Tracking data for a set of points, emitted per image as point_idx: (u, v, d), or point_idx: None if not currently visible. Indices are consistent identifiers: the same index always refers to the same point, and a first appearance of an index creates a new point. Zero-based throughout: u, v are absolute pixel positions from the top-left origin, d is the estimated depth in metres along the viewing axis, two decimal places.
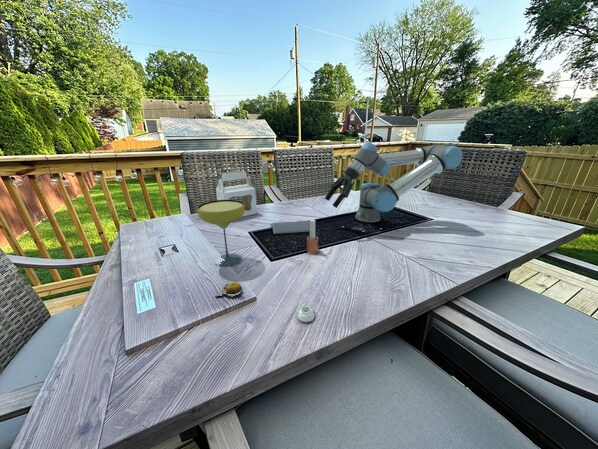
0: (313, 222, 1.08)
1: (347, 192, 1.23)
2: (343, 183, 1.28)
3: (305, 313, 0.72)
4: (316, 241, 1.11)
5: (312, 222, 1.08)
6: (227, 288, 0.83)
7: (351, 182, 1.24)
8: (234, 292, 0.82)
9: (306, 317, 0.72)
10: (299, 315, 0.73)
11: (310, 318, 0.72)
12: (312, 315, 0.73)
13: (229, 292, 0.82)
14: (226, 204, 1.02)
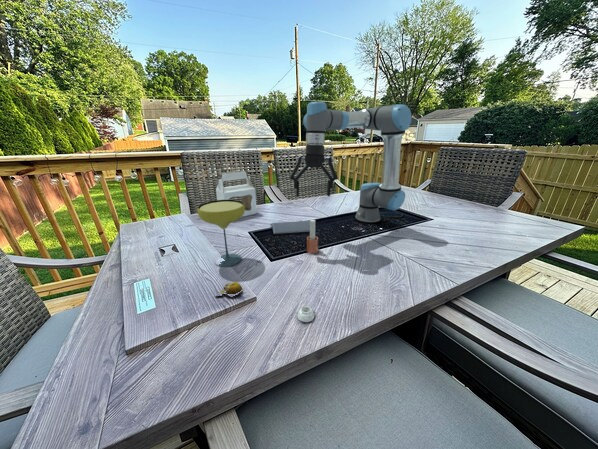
0: (313, 222, 1.08)
1: None
2: (321, 167, 1.01)
3: (305, 313, 0.72)
4: (316, 241, 1.11)
5: (312, 222, 1.08)
6: (227, 288, 0.83)
7: None
8: (234, 292, 0.82)
9: (306, 317, 0.72)
10: (299, 315, 0.73)
11: (310, 318, 0.72)
12: (312, 315, 0.73)
13: (229, 292, 0.82)
14: (226, 204, 1.02)
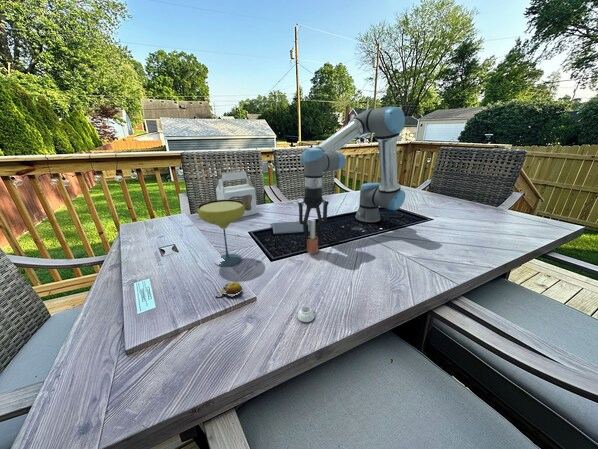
0: (313, 222, 1.08)
1: None
2: (317, 209, 1.06)
3: (305, 313, 0.72)
4: (316, 241, 1.11)
5: (312, 222, 1.08)
6: (227, 288, 0.83)
7: None
8: (234, 292, 0.82)
9: (306, 317, 0.72)
10: (299, 315, 0.73)
11: (310, 318, 0.72)
12: (312, 315, 0.73)
13: (229, 292, 0.82)
14: (226, 204, 1.02)
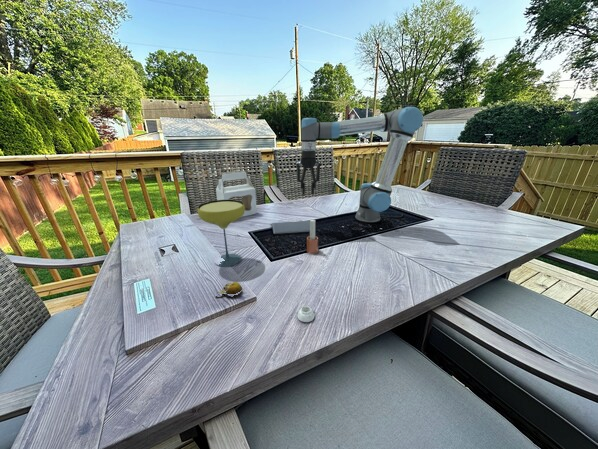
0: (313, 222, 1.08)
1: None
2: (311, 168, 1.30)
3: (305, 313, 0.72)
4: (316, 241, 1.11)
5: (312, 222, 1.08)
6: (227, 288, 0.83)
7: None
8: (234, 292, 0.82)
9: (306, 317, 0.72)
10: (299, 315, 0.73)
11: (310, 318, 0.72)
12: (312, 315, 0.73)
13: (229, 292, 0.82)
14: (226, 204, 1.02)
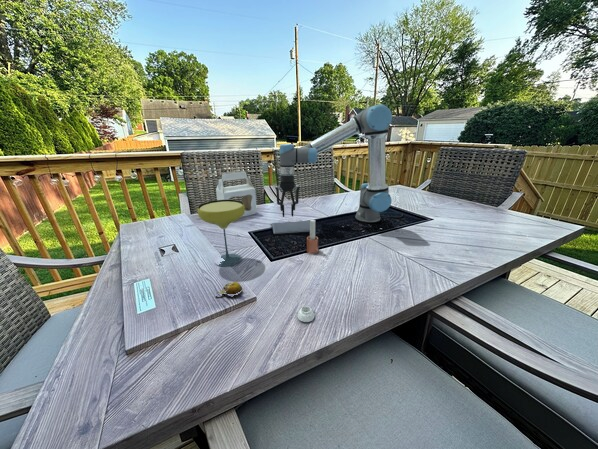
0: (313, 222, 1.08)
1: None
2: (290, 192, 1.33)
3: (305, 313, 0.72)
4: (316, 241, 1.11)
5: (312, 222, 1.08)
6: (227, 288, 0.83)
7: None
8: (234, 292, 0.82)
9: (306, 317, 0.72)
10: (299, 315, 0.73)
11: (310, 318, 0.72)
12: (312, 315, 0.73)
13: (229, 292, 0.82)
14: (226, 204, 1.02)
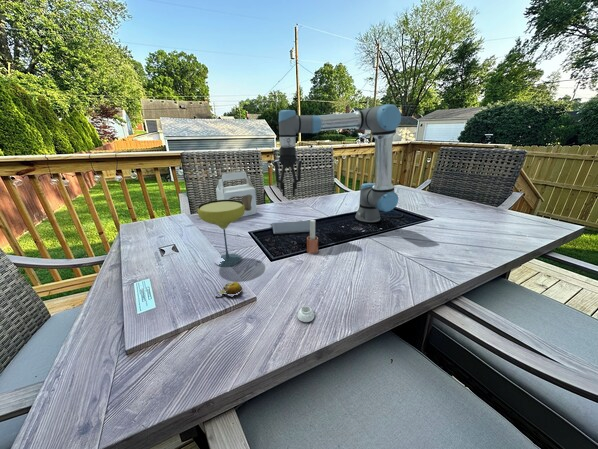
0: (313, 222, 1.08)
1: None
2: (291, 167, 1.16)
3: (305, 313, 0.72)
4: (316, 241, 1.11)
5: (312, 222, 1.08)
6: (227, 288, 0.83)
7: None
8: (234, 292, 0.82)
9: (306, 317, 0.72)
10: (299, 315, 0.73)
11: (310, 318, 0.72)
12: (312, 315, 0.73)
13: (229, 292, 0.82)
14: (226, 204, 1.02)
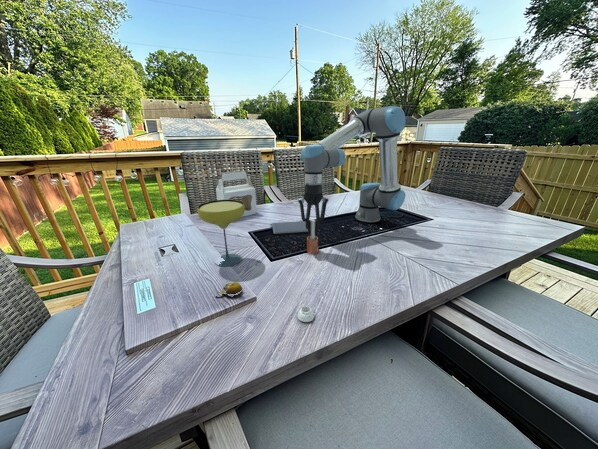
0: (313, 222, 1.08)
1: None
2: (316, 205, 1.05)
3: (305, 313, 0.72)
4: (316, 241, 1.11)
5: (312, 222, 1.08)
6: (227, 288, 0.83)
7: None
8: (234, 292, 0.82)
9: (306, 317, 0.72)
10: (299, 315, 0.73)
11: (310, 318, 0.72)
12: (312, 315, 0.73)
13: (229, 292, 0.82)
14: (226, 204, 1.02)
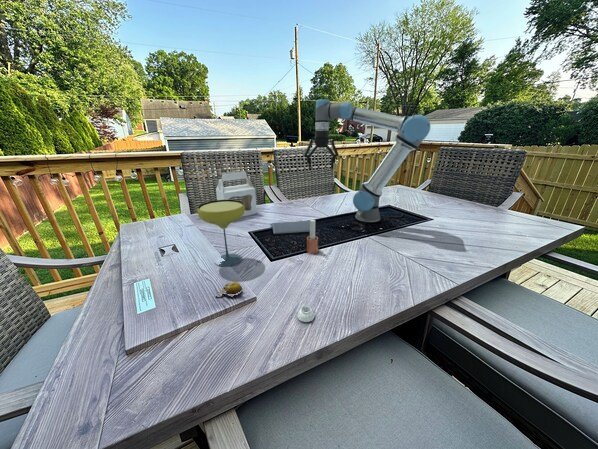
0: (313, 222, 1.08)
1: None
2: (327, 147, 1.40)
3: (305, 313, 0.72)
4: (316, 241, 1.11)
5: (312, 222, 1.08)
6: (227, 288, 0.83)
7: None
8: (234, 292, 0.82)
9: (306, 317, 0.72)
10: (299, 315, 0.73)
11: (310, 318, 0.72)
12: (312, 315, 0.73)
13: (229, 292, 0.82)
14: (226, 204, 1.02)
